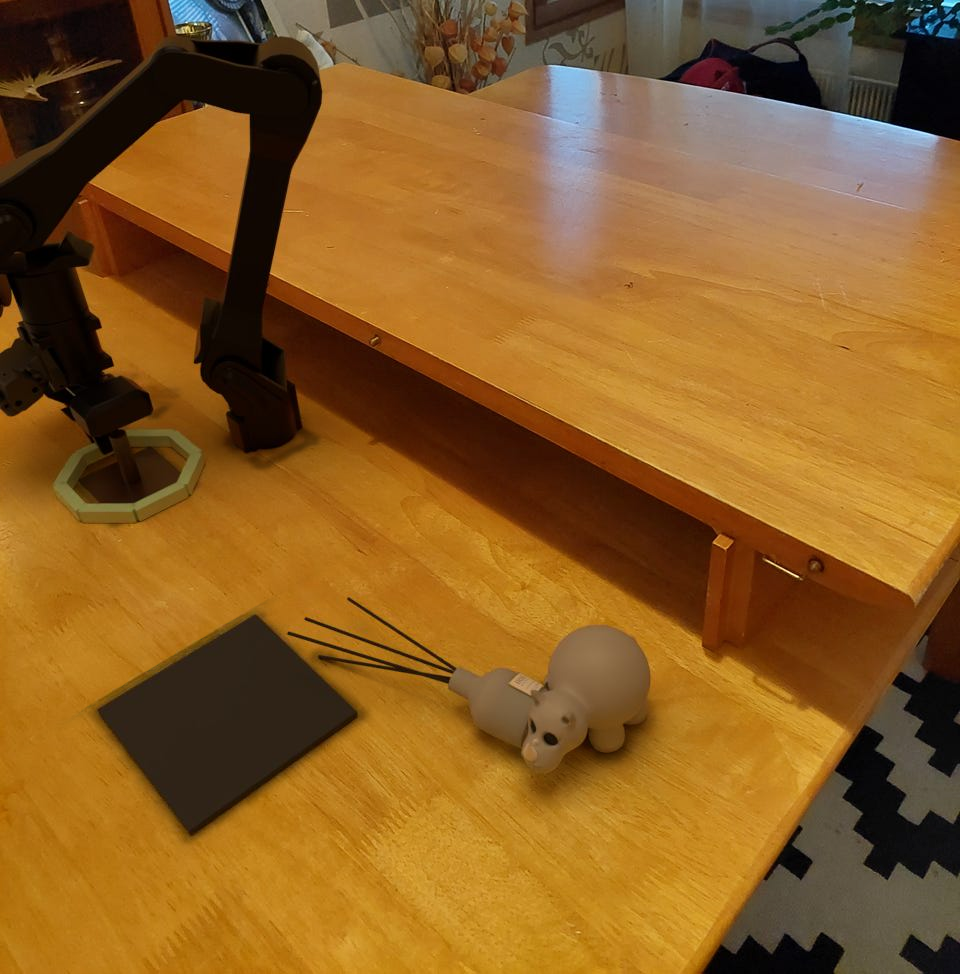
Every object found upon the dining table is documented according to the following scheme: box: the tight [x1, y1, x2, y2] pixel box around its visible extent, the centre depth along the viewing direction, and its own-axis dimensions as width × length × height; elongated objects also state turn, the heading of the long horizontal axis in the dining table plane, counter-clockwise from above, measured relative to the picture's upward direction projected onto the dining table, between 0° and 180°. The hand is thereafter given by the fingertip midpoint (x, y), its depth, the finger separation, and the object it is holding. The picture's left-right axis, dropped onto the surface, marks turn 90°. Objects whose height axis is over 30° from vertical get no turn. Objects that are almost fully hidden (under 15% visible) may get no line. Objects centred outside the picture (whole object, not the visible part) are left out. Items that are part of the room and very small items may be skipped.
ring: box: [52, 428, 206, 524], centre depth 91 cm, size 13×13×1 cm
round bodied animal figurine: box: [520, 624, 651, 774], centre depth 64 cm, size 7×12×8 cm, turn 138°
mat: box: [97, 613, 359, 836], centre depth 70 cm, size 14×14×1 cm
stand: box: [78, 428, 182, 504], centre depth 90 cm, size 8×8×6 cm
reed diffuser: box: [286, 596, 550, 750], centre depth 70 cm, size 10×7×20 cm
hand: (103, 448), depth 94 cm, fingers closed
